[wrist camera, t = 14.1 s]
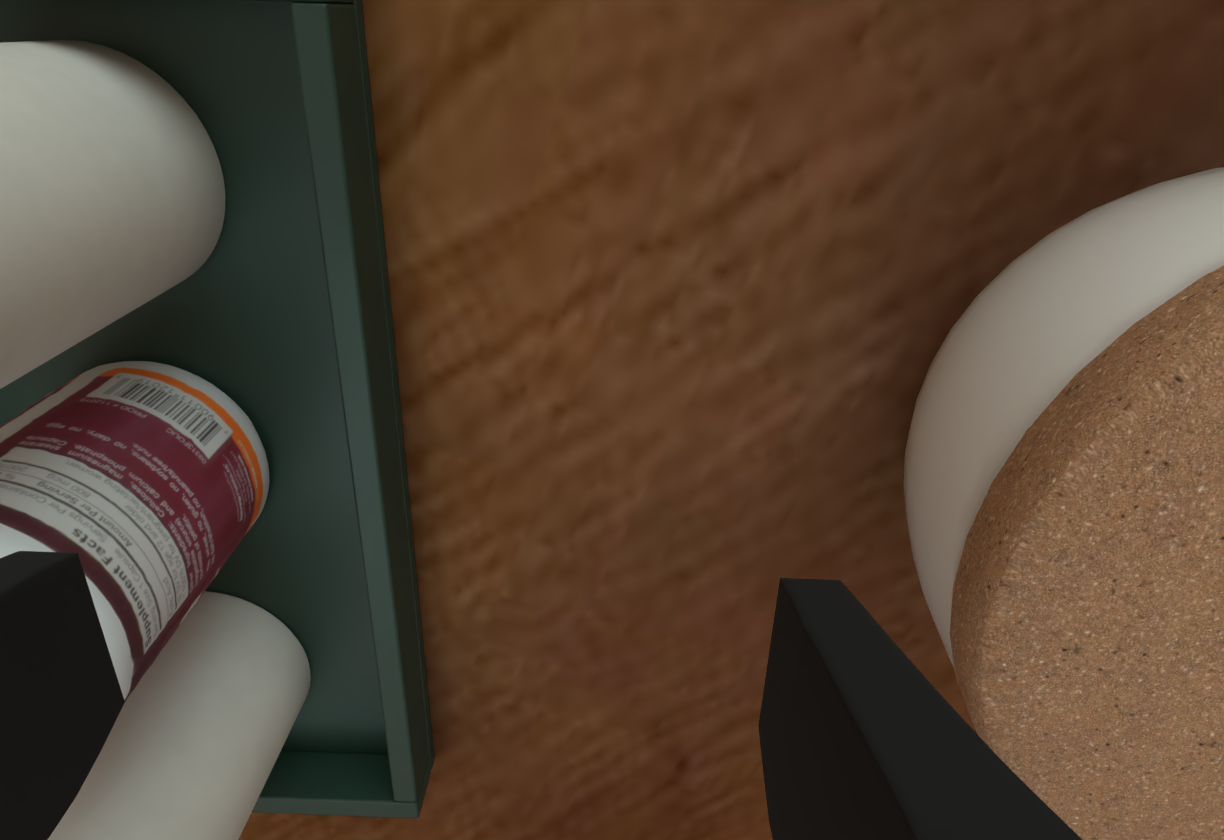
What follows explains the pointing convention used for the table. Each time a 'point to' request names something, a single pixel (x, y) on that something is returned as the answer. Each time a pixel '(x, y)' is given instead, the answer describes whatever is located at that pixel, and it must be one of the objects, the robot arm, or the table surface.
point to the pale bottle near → (94, 194)
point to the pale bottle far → (196, 731)
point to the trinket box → (1088, 513)
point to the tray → (289, 365)
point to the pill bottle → (133, 494)
